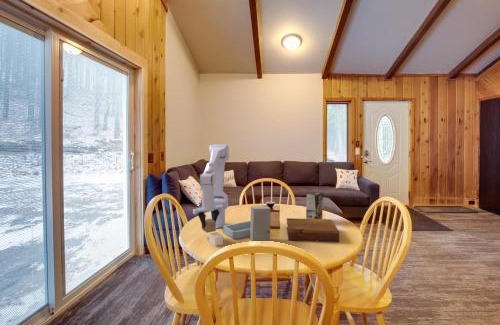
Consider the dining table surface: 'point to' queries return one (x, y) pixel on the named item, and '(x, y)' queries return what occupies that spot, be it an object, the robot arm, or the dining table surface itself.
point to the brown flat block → (312, 230)
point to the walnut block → (209, 225)
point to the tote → (237, 230)
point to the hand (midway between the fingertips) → (208, 226)
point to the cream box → (215, 239)
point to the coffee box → (314, 205)
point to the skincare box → (260, 223)
